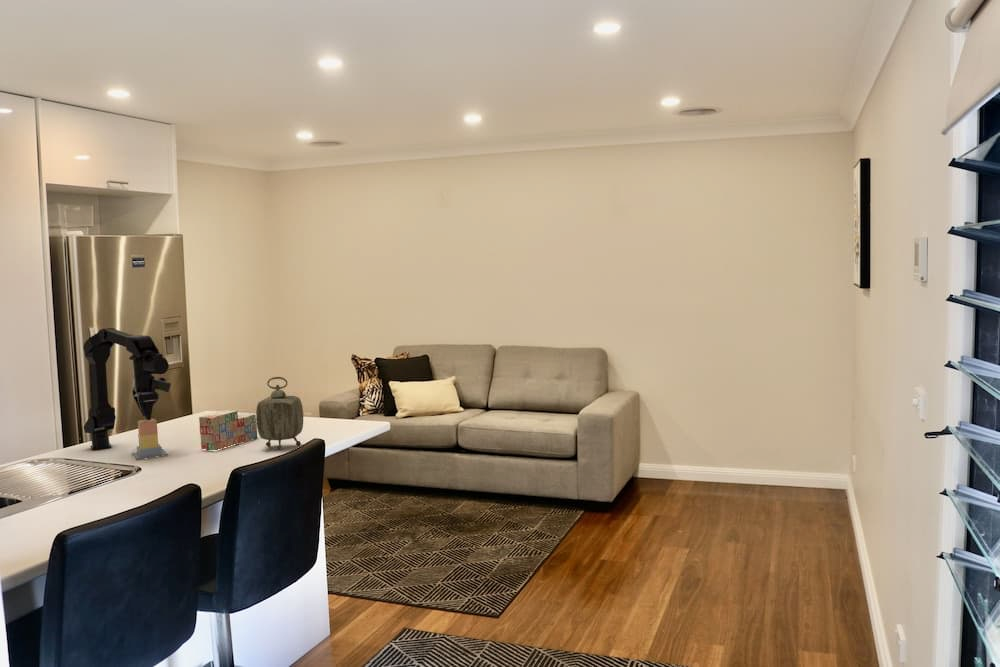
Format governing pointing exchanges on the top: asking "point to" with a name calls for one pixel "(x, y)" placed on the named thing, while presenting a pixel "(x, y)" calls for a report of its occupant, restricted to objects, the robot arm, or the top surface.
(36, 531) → the top surface
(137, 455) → the baseplate
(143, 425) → the terracotta brick
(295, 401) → the tabletop clock
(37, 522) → the top surface
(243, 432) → the stack of blocks
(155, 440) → the mustard brick
